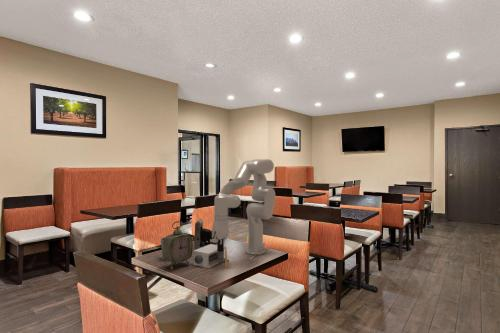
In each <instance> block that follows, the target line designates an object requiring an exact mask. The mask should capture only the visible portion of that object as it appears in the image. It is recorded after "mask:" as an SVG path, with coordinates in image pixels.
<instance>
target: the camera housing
mask: <svg viewBox="0 0 500 333" xmlns="http://www.w3.org/2000/svg"><path fill="white" fill-rule="evenodd" d="M225 248H227V247H226V246H224V251H222V252H219V251H217V245H213V244H210V245H207V246H204V247H201V248H199V249H196V250H194V249H193V250H192V255H193V256H192V257H193V258H192V261H193V266H196V267H202V268H206V269H210V268H212V267H214V266H217V265H218V264H220V263H222V262H225Z"/></svg>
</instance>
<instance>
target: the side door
mask: <svg viewBox="0 0 500 333" xmlns="http://www.w3.org/2000/svg"><path fill="white" fill-rule="evenodd" d="M224 258H225V261H224V264H225V265H224V266H225V269H228V268H227V267H228V263H230V259H228V248H227V247H226V248H225V249H224Z"/></svg>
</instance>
